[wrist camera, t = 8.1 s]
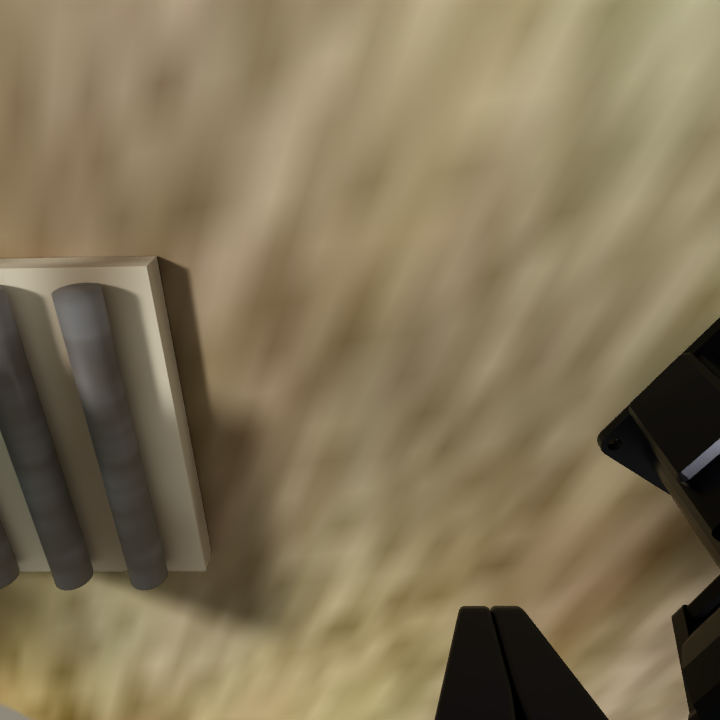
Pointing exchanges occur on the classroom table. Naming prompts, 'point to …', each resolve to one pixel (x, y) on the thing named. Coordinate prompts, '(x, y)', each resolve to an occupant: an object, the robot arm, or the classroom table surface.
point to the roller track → (93, 426)
